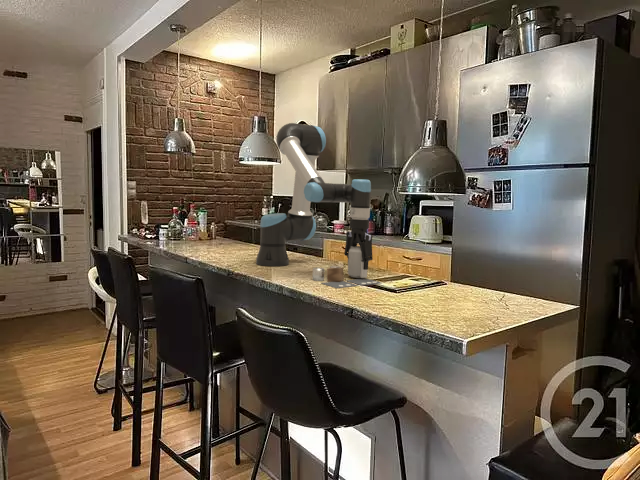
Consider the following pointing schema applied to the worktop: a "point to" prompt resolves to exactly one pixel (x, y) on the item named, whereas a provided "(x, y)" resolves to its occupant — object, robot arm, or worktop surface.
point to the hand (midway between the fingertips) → (357, 275)
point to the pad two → (339, 284)
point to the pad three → (363, 282)
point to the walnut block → (335, 274)
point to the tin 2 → (334, 267)
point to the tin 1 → (318, 274)
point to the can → (355, 262)
